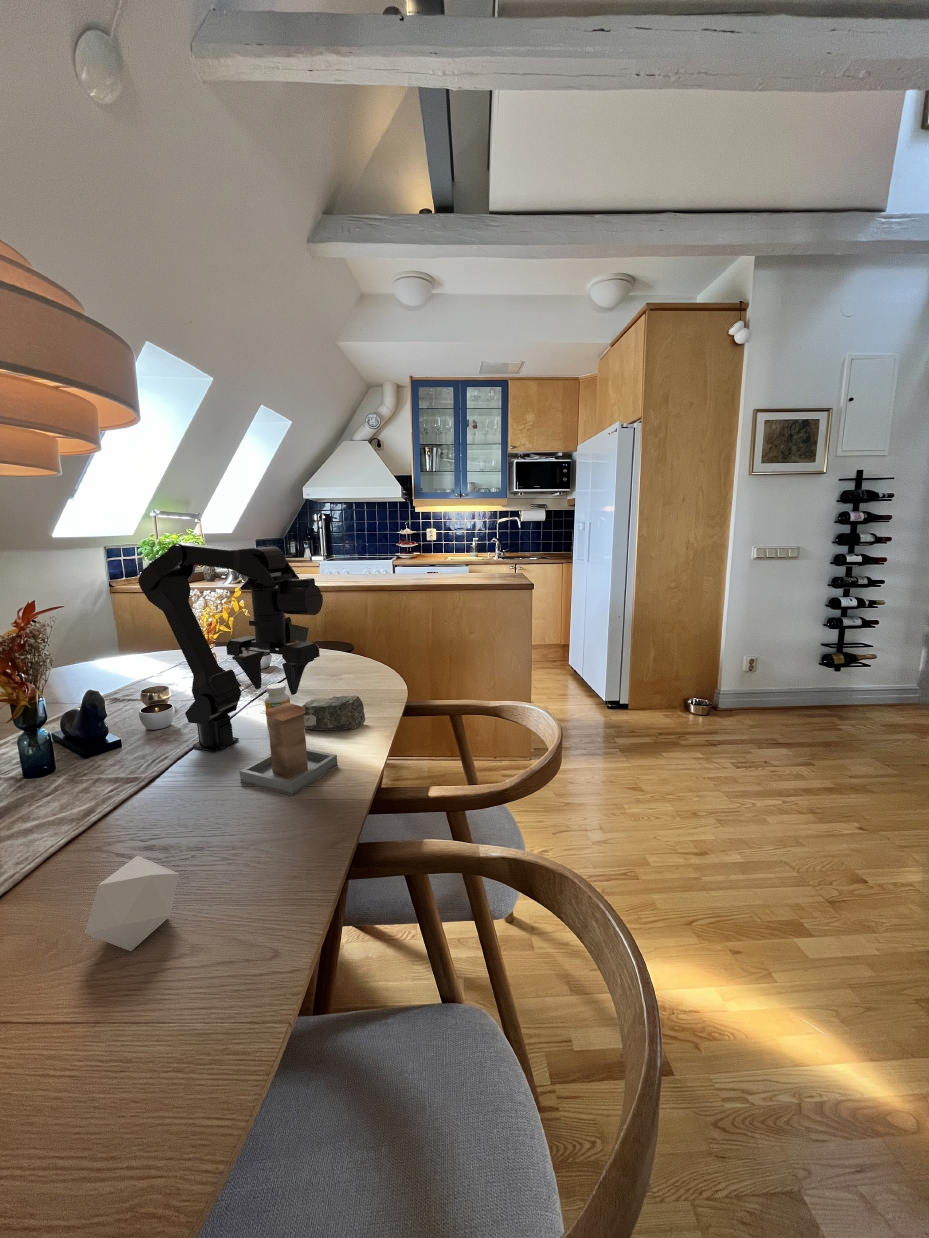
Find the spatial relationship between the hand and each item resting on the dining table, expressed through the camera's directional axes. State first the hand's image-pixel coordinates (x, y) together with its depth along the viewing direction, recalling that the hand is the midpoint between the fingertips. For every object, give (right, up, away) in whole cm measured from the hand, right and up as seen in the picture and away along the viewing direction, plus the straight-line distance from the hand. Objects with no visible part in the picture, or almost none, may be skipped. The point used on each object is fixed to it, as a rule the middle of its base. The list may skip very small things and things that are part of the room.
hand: (276, 691), depth 102 cm
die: (0, -21, -43) cm, 48 cm away
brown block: (+5, -14, -6) cm, 16 cm away
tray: (+5, -14, -6) cm, 16 cm away
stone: (+7, -11, +15) cm, 20 cm away
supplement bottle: (-5, -10, +17) cm, 20 cm away
